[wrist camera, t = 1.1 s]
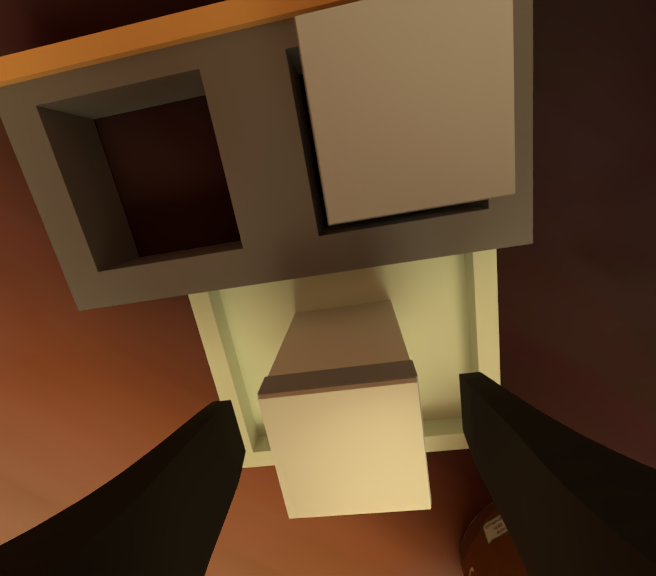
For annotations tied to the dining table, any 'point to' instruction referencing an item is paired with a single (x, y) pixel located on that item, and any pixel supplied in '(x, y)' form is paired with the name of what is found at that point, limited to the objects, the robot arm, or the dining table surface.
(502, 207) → the grey cubby shelf
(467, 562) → the food container
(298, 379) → the plug
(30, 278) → the dining table surface
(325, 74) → the beige block
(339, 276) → the tray
